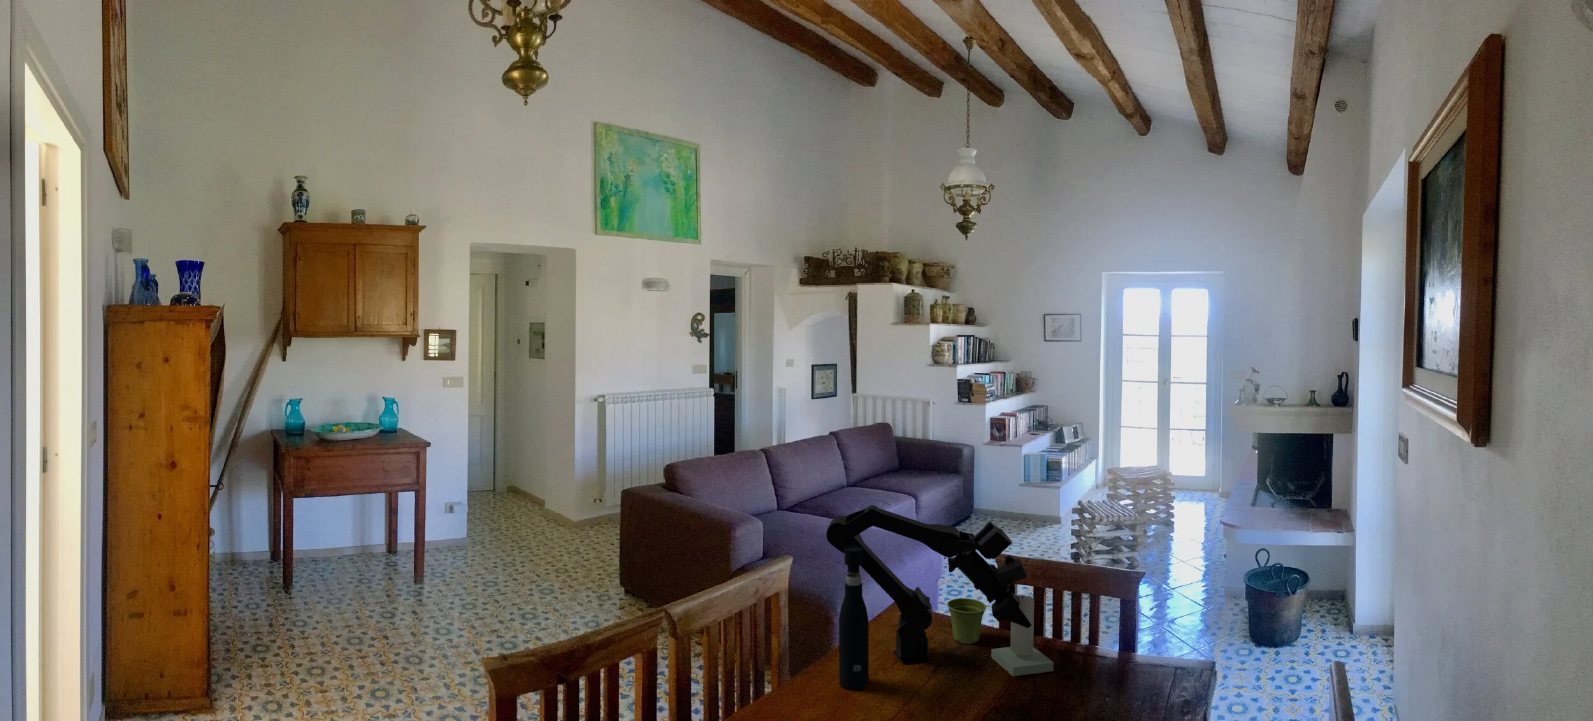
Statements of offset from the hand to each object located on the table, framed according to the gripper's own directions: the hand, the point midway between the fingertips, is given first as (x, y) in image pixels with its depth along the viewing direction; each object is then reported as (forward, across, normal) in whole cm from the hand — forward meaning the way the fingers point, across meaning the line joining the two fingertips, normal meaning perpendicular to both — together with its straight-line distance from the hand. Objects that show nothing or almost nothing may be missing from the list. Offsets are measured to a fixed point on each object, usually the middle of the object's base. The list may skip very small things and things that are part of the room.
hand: (1028, 621), depth 187 cm
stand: (+6, 0, +8) cm, 10 cm away
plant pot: (-2, +12, +16) cm, 21 cm away
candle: (+4, 0, +6) cm, 7 cm away
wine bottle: (-20, -15, +34) cm, 42 cm away
